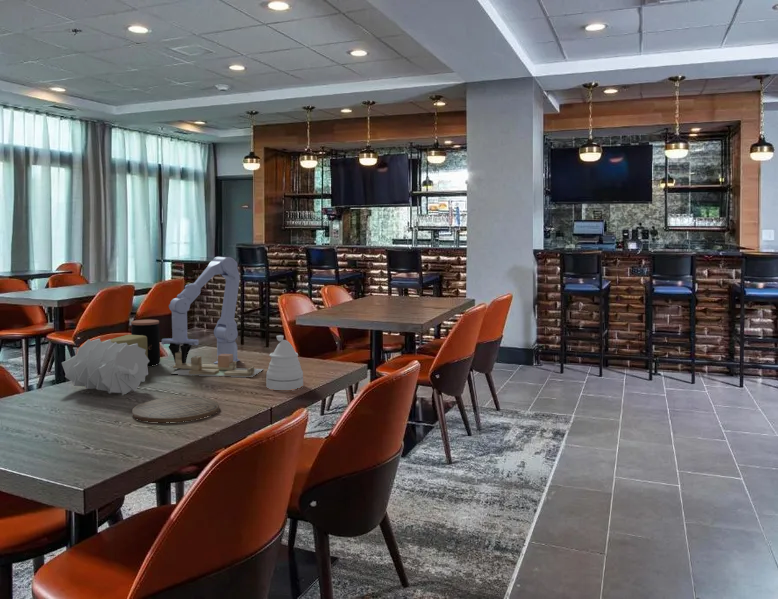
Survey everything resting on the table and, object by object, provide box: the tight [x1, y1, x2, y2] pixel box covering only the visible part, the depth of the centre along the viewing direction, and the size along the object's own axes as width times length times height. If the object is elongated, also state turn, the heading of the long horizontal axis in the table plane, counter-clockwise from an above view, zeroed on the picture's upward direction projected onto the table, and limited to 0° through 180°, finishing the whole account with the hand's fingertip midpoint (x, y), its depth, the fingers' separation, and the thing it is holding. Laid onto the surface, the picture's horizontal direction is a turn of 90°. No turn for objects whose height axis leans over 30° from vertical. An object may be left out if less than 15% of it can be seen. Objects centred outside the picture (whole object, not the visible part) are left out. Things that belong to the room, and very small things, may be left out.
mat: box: [170, 367, 265, 378], centre depth 254 cm, size 14×32×1 cm, turn 83°
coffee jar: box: [130, 319, 161, 367], centre depth 266 cm, size 11×11×18 cm
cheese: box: [100, 334, 149, 368], centre depth 242 cm, size 22×10×15 cm, turn 164°
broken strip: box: [189, 355, 255, 376], centre depth 249 cm, size 5×24×6 cm, turn 83°
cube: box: [217, 354, 233, 367], centre depth 257 cm, size 4×4×4 cm
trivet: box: [131, 396, 220, 423], centre depth 198 cm, size 25×25×2 cm
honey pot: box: [265, 334, 304, 390], centre depth 231 cm, size 13×13×18 cm
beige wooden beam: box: [172, 350, 237, 370], centre depth 258 cm, size 5×24×6 cm, turn 83°
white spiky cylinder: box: [61, 338, 150, 396], centre depth 222 cm, size 18×18×25 cm
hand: (180, 362), depth 259 cm, fingers closed on beige wooden beam, 2 cm apart
